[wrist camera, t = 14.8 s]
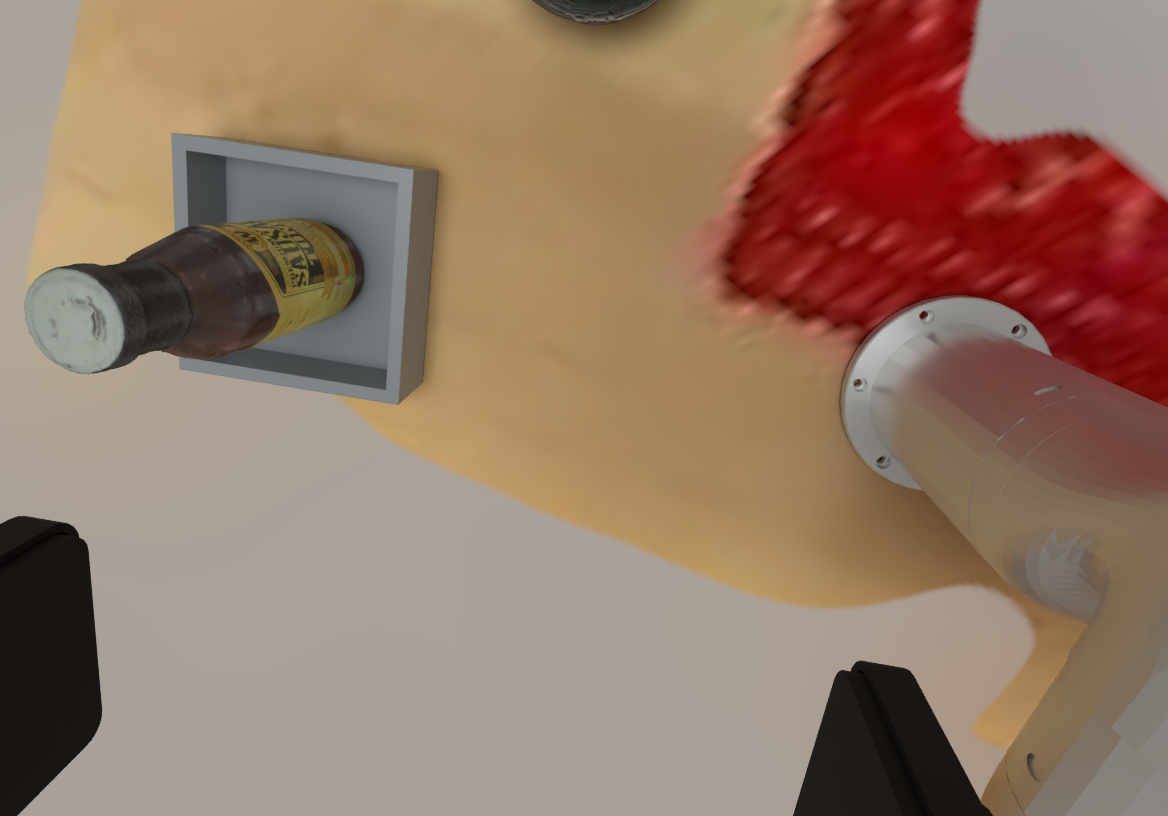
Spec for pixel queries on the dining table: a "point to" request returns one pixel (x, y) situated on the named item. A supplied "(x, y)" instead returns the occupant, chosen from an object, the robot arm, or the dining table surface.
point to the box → (372, 224)
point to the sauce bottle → (195, 294)
